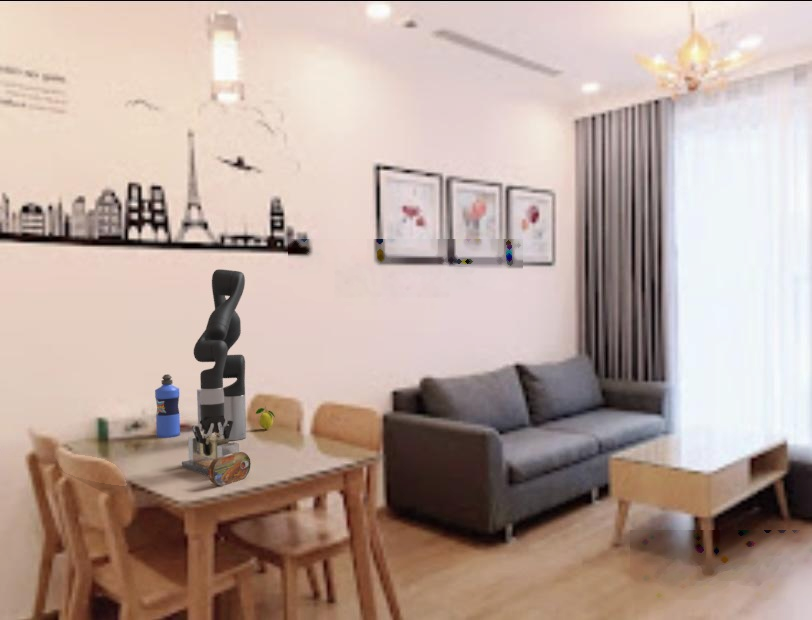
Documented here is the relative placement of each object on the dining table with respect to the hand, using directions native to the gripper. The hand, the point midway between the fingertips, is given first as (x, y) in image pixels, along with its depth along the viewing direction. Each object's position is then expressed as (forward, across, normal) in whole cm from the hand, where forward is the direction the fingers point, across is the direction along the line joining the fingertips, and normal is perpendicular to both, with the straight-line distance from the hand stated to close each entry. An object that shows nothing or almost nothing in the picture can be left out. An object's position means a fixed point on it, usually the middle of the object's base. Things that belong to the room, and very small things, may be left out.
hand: (213, 453), depth 218 cm
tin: (+5, +4, +17) cm, 18 cm away
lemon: (+5, -48, -43) cm, 65 cm away
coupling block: (+1, 0, 0) cm, 1 cm away
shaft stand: (+5, 0, 0) cm, 5 cm away
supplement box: (+5, -36, -66) cm, 75 cm away
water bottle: (+5, -15, -64) cm, 66 cm away
